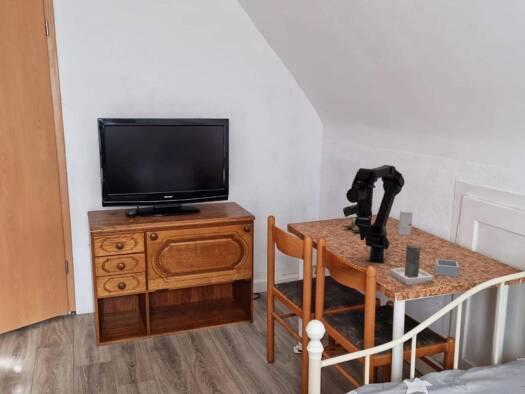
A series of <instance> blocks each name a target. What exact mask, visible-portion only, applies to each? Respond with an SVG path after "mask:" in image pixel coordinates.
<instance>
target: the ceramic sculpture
mask: <svg viewBox="0 0 525 394" xmlns="http://www.w3.org/2000/svg"><path fill="white" fill-rule="evenodd" d="M369 217H371V216H369ZM355 218H356V217H355ZM355 218H353V219H352V220H351V222H350V223H348V224H346V225H343V226H342V228H345V229H348V230H352V231H353V232H355V233H360V232H359V228H358V227H357V226H356V225H355Z"/></svg>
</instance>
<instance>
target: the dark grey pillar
mask: <svg viewBox="0 0 525 394" xmlns="http://www.w3.org/2000/svg"><path fill="white" fill-rule="evenodd" d="M405 251H406V253H405V264H404V265H405V267H404V268H405V276H407V277H409V278H415V277H418V272H419V269H420V259H421V257H420V256H421V247H420V246H418V245H415V244H411V245H406V249H405Z"/></svg>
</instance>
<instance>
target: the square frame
mask: <svg viewBox="0 0 525 394" xmlns="http://www.w3.org/2000/svg"><path fill="white" fill-rule="evenodd" d="M459 265H460V264H459V262H458V261H457V260H450V259H439V258H435V263H434V271H435V275H436V276H442V277H444V276H445V277H453V278H454V277H455V278H459V277H460V266H459Z"/></svg>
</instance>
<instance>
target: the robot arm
mask: <svg viewBox="0 0 525 394" xmlns="http://www.w3.org/2000/svg"><path fill="white" fill-rule="evenodd" d="M379 179H381V182H382V188H383V192H384V193H383V195H382V199H381V202H380V205H379V207H378V211H377V214H376V217H375V220H374V222H373V224H372V219H373V211H372V210H373V198H374V197H373V196H374V195H373V194H374V189H375V188H376V185H375V183H376V182H378V180H379ZM404 185H405V178H404V176H403V174H402V173H400V171H399V170H397V169H396V167H395V166H393V165H388V164H384V165H383V164H382V165H381V166H378V167H374V168H373V167H372V168H366V167H364V168H363V167H360V168H358V170H357V172H356V173H355V176H354V178H353V181H352V183H351V187H350V188H349V189H348V190H347V192H346V193H345V196H346V200H347V201H348V202H350V203H351V204H352V205H347V206H345V207H343V209H342V211H343V214H344V217H345V218H347V217H349V216H354V215H355V216H356V217H355V225H356V226H357V227H358V228H359V232H358V233H359V237H360V241H364V240H365V241H364V242H365V246H366V247H370V250H369V252H370V253H369V257H368V263H380V264H384V263H385V257H384V254H385V250H388V249H389V247H390V243H391V242H390V241H389V238H388V230H387V228H386V226H387V223H388V219H389V216H390V213H391V211H392V207H393V204H394V201H395V198H396V196H397V195H399V193H401V191H402V190H403V188H404ZM355 203H356V204H355ZM370 216H371V217H370Z"/></svg>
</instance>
